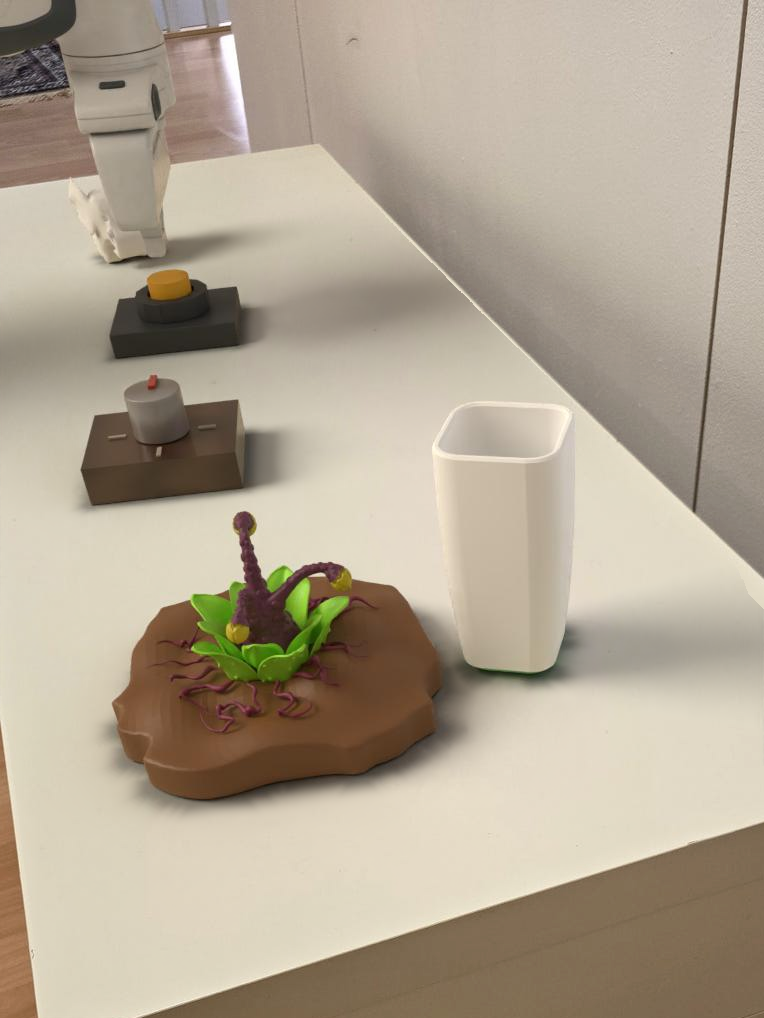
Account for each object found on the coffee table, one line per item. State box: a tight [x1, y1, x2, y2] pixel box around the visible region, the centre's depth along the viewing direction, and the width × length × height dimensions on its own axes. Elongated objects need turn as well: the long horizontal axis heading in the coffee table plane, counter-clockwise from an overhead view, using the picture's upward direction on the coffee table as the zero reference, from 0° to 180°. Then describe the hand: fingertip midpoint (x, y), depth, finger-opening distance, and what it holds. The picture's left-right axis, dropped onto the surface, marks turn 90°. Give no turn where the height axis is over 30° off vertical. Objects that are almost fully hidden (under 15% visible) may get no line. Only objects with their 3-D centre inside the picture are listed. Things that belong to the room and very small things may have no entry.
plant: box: [111, 510, 443, 800], centre depth 73 cm, size 20×20×11 cm
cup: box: [431, 400, 576, 675], centre depth 73 cm, size 7×7×15 cm
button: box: [146, 269, 192, 300], centre depth 119 cm, size 4×4×2 cm
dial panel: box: [80, 398, 246, 506], centre depth 99 cm, size 12×10×3 cm
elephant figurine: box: [67, 176, 148, 263], centre depth 136 cm, size 10×12×9 cm
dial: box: [123, 374, 189, 444], centre depth 97 cm, size 4×4×4 cm
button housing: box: [108, 278, 242, 359], centre depth 120 cm, size 12×10×4 cm
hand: (158, 252), depth 116 cm, fingers closed
